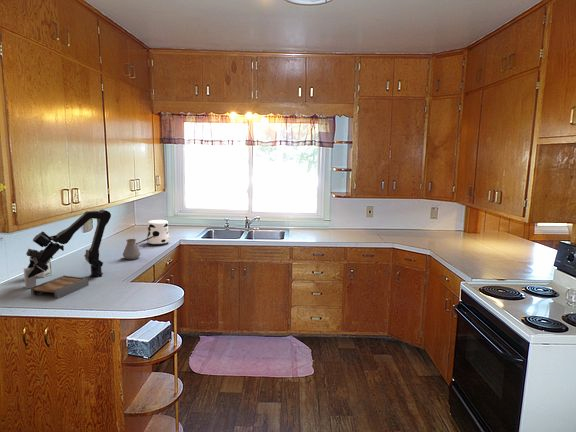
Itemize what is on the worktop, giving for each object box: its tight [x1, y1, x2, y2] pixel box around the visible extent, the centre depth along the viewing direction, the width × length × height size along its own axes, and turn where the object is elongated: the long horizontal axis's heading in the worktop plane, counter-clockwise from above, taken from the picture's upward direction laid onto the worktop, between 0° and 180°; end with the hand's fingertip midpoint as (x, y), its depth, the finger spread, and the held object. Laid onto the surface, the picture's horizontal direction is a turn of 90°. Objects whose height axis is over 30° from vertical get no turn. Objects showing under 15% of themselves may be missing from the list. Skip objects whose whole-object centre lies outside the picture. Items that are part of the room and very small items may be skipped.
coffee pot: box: [122, 236, 155, 260], centre depth 276 cm, size 21×12×15 cm, turn 108°
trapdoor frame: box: [30, 275, 90, 300], centre depth 211 cm, size 22×16×4 cm
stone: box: [23, 267, 37, 290], centre depth 215 cm, size 4×4×10 cm
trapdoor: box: [34, 277, 82, 294], centre depth 210 cm, size 19×12×4 cm, turn 166°
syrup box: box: [36, 250, 52, 278], centre depth 234 cm, size 6×6×14 cm
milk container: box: [146, 219, 171, 246], centre depth 318 cm, size 17×17×18 cm
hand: (26, 275), depth 214 cm, fingers open, 9 cm apart
